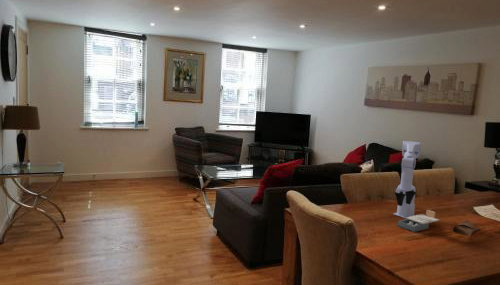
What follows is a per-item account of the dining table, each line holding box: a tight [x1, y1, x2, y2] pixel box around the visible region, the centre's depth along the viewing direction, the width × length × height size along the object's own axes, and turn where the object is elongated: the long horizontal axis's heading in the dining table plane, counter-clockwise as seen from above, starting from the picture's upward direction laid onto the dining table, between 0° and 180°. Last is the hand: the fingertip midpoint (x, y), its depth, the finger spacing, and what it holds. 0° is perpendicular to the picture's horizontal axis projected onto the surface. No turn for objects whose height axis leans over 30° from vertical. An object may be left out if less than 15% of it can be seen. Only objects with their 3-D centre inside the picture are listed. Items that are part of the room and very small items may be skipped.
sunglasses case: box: [452, 219, 481, 237], centre depth 188 cm, size 18×7×7 cm, turn 134°
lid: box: [405, 209, 440, 224], centre depth 191 cm, size 15×10×5 cm, turn 122°
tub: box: [397, 218, 430, 233], centre depth 187 cm, size 13×9×3 cm
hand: (403, 204), depth 193 cm, fingers open, 7 cm apart
